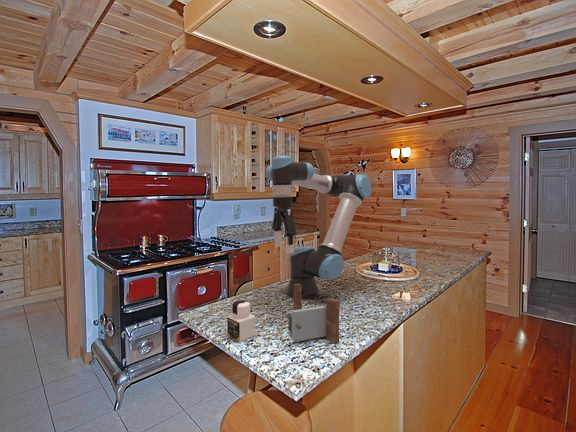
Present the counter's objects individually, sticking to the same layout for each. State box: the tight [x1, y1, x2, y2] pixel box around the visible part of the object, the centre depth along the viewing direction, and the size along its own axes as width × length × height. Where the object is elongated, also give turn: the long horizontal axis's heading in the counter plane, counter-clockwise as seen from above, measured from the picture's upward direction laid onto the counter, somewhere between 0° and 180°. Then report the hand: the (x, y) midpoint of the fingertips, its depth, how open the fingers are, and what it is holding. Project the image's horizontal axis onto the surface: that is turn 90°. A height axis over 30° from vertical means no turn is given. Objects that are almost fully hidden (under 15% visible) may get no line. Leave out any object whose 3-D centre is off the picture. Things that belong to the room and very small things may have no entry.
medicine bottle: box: [226, 299, 257, 343], centre depth 111 cm, size 7×7×12 cm
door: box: [291, 303, 327, 343], centre depth 108 cm, size 3×13×11 cm, turn 111°
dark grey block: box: [288, 312, 292, 335], centre depth 115 cm, size 7×6×6 cm
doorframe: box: [293, 284, 340, 344], centre depth 116 cm, size 2×24×14 cm, turn 33°
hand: (283, 249), depth 128 cm, fingers open, 13 cm apart
